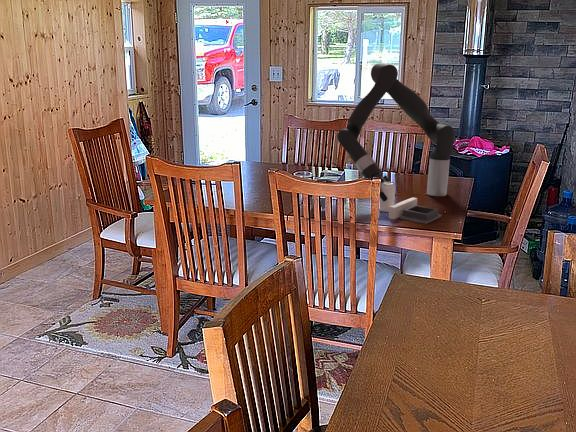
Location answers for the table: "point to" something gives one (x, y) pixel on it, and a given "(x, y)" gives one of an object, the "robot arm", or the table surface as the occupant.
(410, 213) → the keeper
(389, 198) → the can
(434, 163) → the robot arm
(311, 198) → the drinking glass
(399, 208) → the door edge
